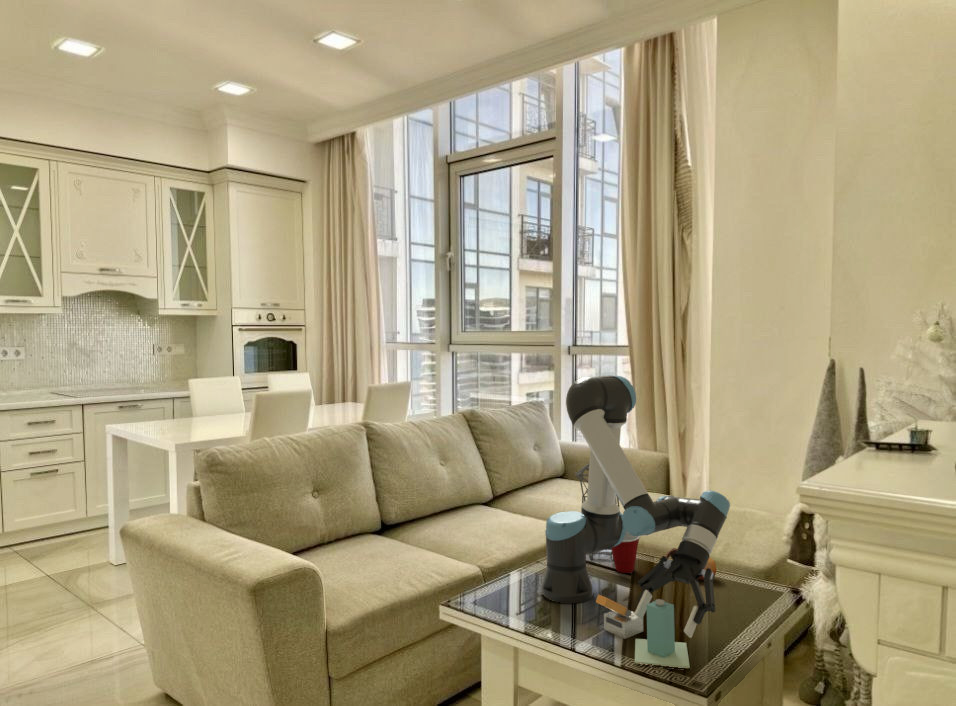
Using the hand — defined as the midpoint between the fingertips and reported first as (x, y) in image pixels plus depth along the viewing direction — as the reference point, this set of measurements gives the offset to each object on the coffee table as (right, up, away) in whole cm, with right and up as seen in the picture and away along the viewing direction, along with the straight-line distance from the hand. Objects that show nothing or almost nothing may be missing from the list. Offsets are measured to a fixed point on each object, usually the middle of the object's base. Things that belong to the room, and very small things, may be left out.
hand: (661, 625), depth 153 cm
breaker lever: (-6, -2, +14) cm, 15 cm away
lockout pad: (0, -7, 0) cm, 7 cm away
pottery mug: (+22, -7, +57) cm, 62 cm away
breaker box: (-6, -7, +14) cm, 17 cm away
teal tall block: (0, -6, 0) cm, 6 cm away
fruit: (+27, -6, +49) cm, 57 cm away
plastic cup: (+4, -7, +59) cm, 59 cm away
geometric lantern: (0, -7, +74) cm, 74 cm away
